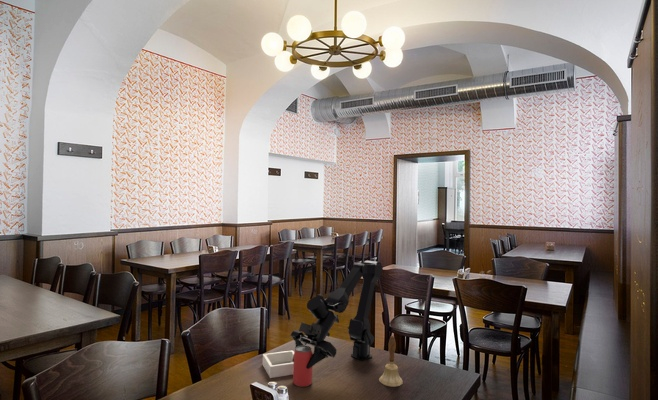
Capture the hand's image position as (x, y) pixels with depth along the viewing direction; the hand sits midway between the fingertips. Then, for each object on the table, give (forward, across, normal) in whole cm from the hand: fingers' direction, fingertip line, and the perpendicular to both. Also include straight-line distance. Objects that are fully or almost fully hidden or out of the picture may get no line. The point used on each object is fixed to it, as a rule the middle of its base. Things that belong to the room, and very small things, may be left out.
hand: (300, 365), depth 131 cm
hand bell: (-13, +21, +22) cm, 33 cm away
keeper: (+2, -14, +7) cm, 16 cm away
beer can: (+4, 0, +6) cm, 7 cm away
